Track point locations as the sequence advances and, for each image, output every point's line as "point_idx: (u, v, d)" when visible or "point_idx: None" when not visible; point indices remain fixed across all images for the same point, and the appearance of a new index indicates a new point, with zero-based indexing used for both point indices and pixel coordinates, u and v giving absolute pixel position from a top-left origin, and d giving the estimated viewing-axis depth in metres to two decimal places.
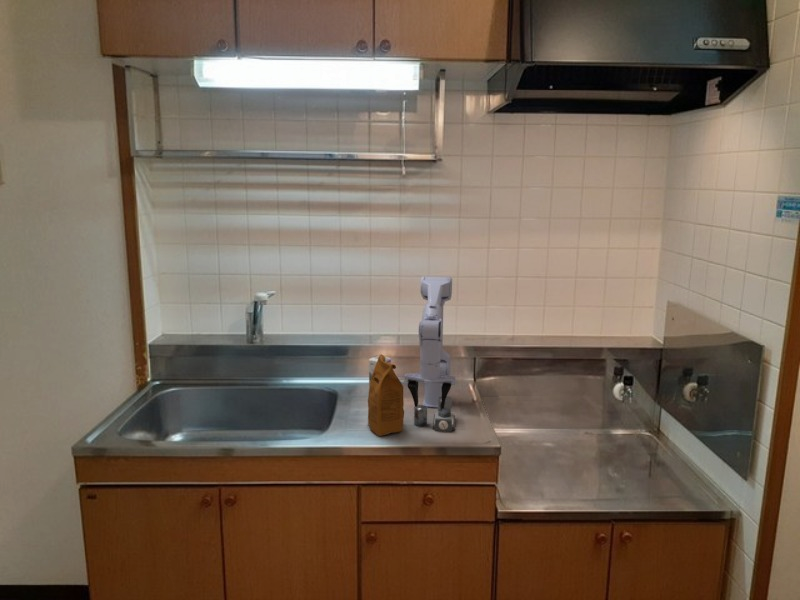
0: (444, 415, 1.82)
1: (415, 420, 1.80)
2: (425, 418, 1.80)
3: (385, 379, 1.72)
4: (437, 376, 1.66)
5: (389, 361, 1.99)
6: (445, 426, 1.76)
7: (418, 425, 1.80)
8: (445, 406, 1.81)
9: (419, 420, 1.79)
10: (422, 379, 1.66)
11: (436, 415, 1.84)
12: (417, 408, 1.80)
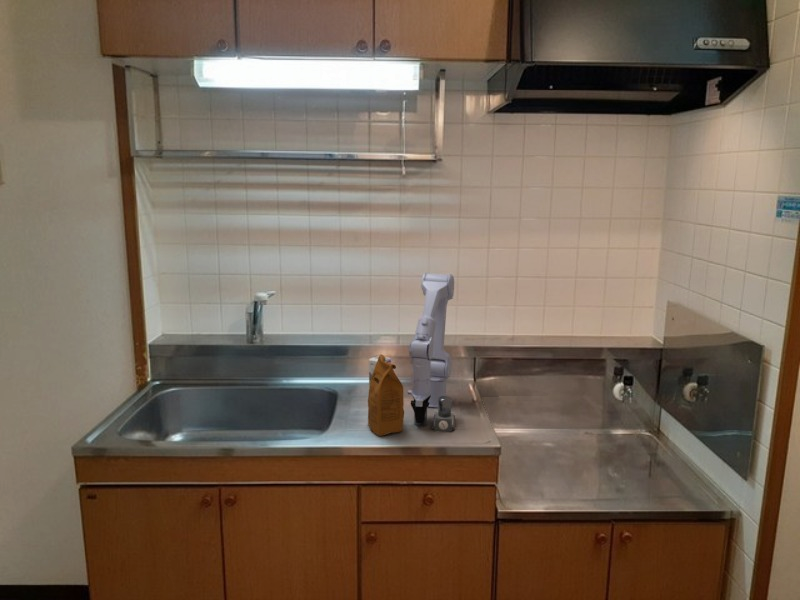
0: (444, 415, 1.82)
1: (415, 420, 1.80)
2: (425, 418, 1.80)
3: (385, 379, 1.72)
4: (415, 392, 1.77)
5: (389, 361, 1.99)
6: (445, 426, 1.76)
7: (418, 425, 1.80)
8: (445, 406, 1.81)
9: None
10: None
11: (436, 415, 1.84)
12: None
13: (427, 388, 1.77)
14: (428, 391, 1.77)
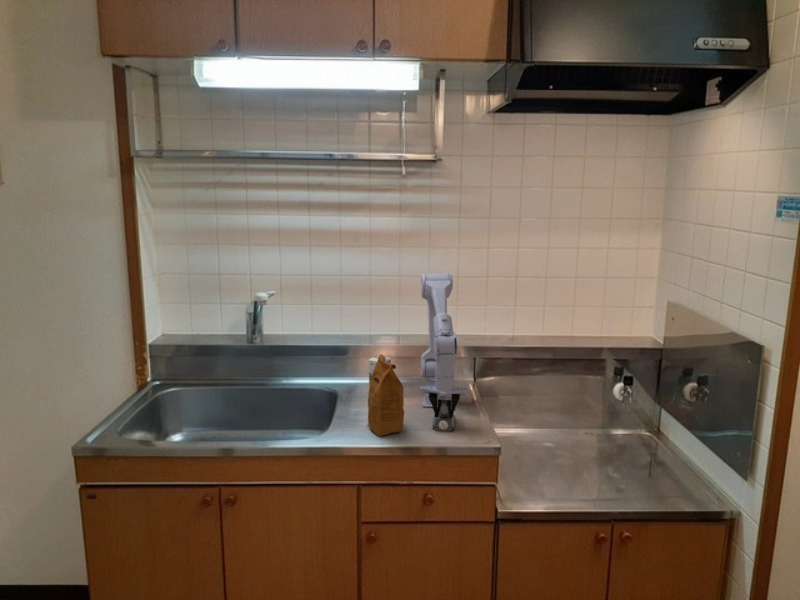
0: None
1: (447, 412, 1.77)
2: None
3: (385, 379, 1.72)
4: (452, 388, 1.75)
5: (389, 361, 1.99)
6: (445, 426, 1.76)
7: None
8: None
9: (450, 411, 1.78)
10: (438, 391, 1.75)
11: None
12: (446, 400, 1.78)
13: None
14: None
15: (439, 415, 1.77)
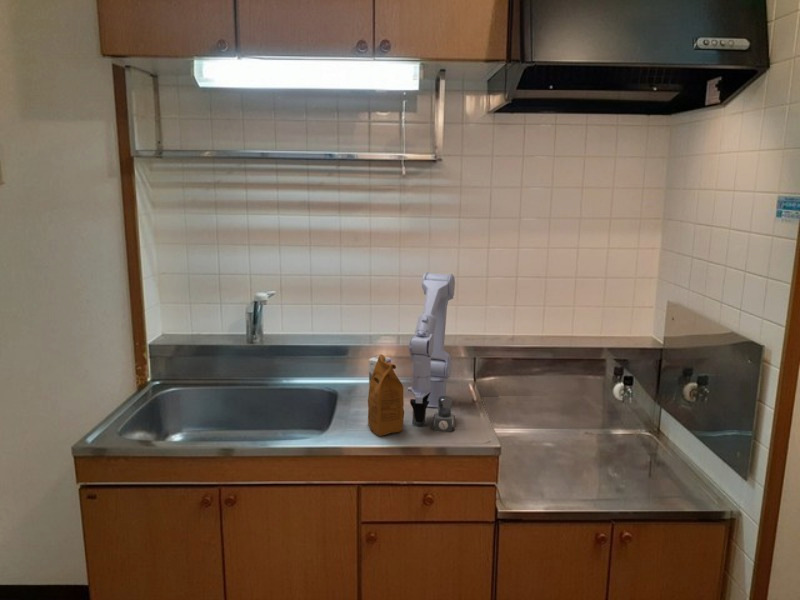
0: (444, 415, 1.82)
1: (413, 419, 1.80)
2: None
3: (385, 379, 1.72)
4: (415, 389, 1.77)
5: (389, 361, 1.99)
6: (445, 426, 1.76)
7: (416, 424, 1.80)
8: (445, 406, 1.81)
9: None
10: None
11: (436, 415, 1.84)
12: None
13: (427, 385, 1.77)
14: (428, 388, 1.77)
15: None
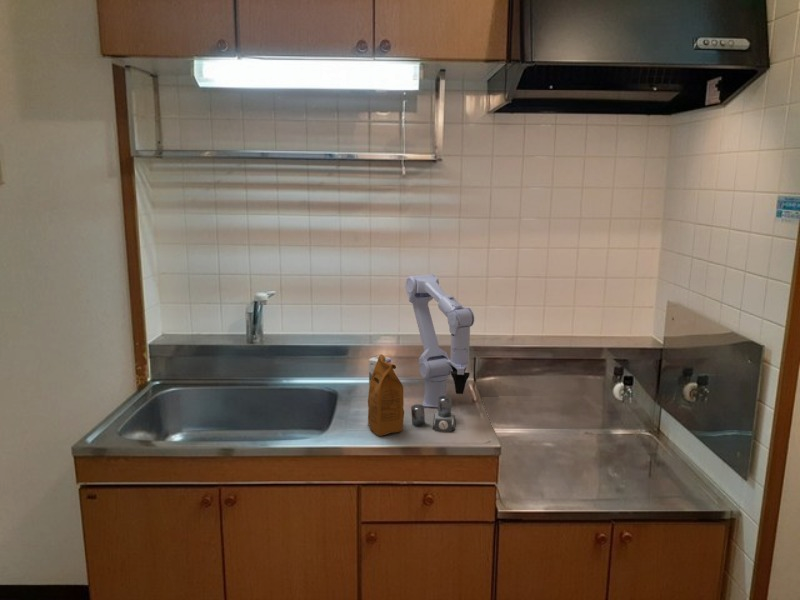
0: (444, 415, 1.82)
1: (413, 420, 1.80)
2: (423, 417, 1.80)
3: (385, 379, 1.72)
4: (455, 361, 1.79)
5: (389, 361, 1.99)
6: (445, 426, 1.76)
7: (417, 425, 1.80)
8: (445, 406, 1.81)
9: (418, 420, 1.79)
10: None
11: (436, 415, 1.84)
12: (414, 408, 1.79)
13: (467, 357, 1.79)
14: (467, 360, 1.80)
15: None
